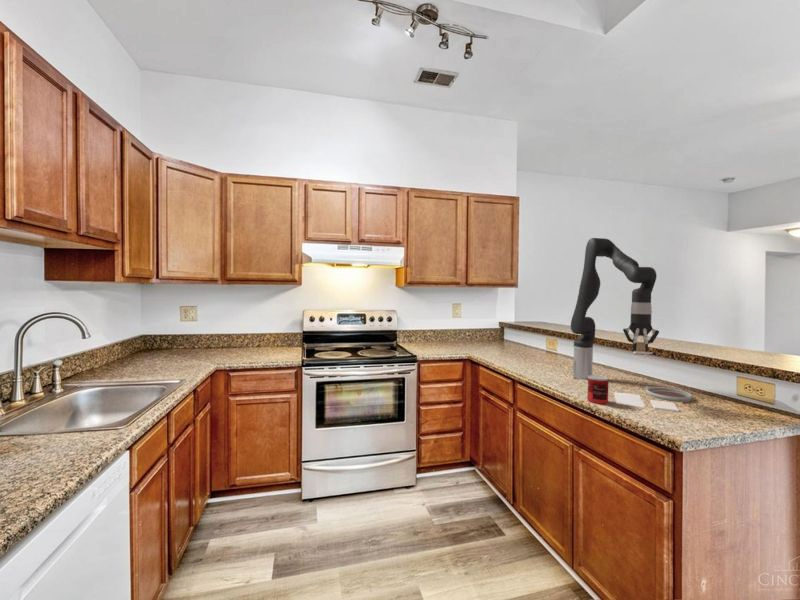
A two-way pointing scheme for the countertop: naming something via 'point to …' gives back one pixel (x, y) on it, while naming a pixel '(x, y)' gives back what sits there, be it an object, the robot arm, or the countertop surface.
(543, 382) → the countertop surface
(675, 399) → the frying pan
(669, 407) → the tile
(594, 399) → the canned food
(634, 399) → the mat
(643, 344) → the tan long bar
